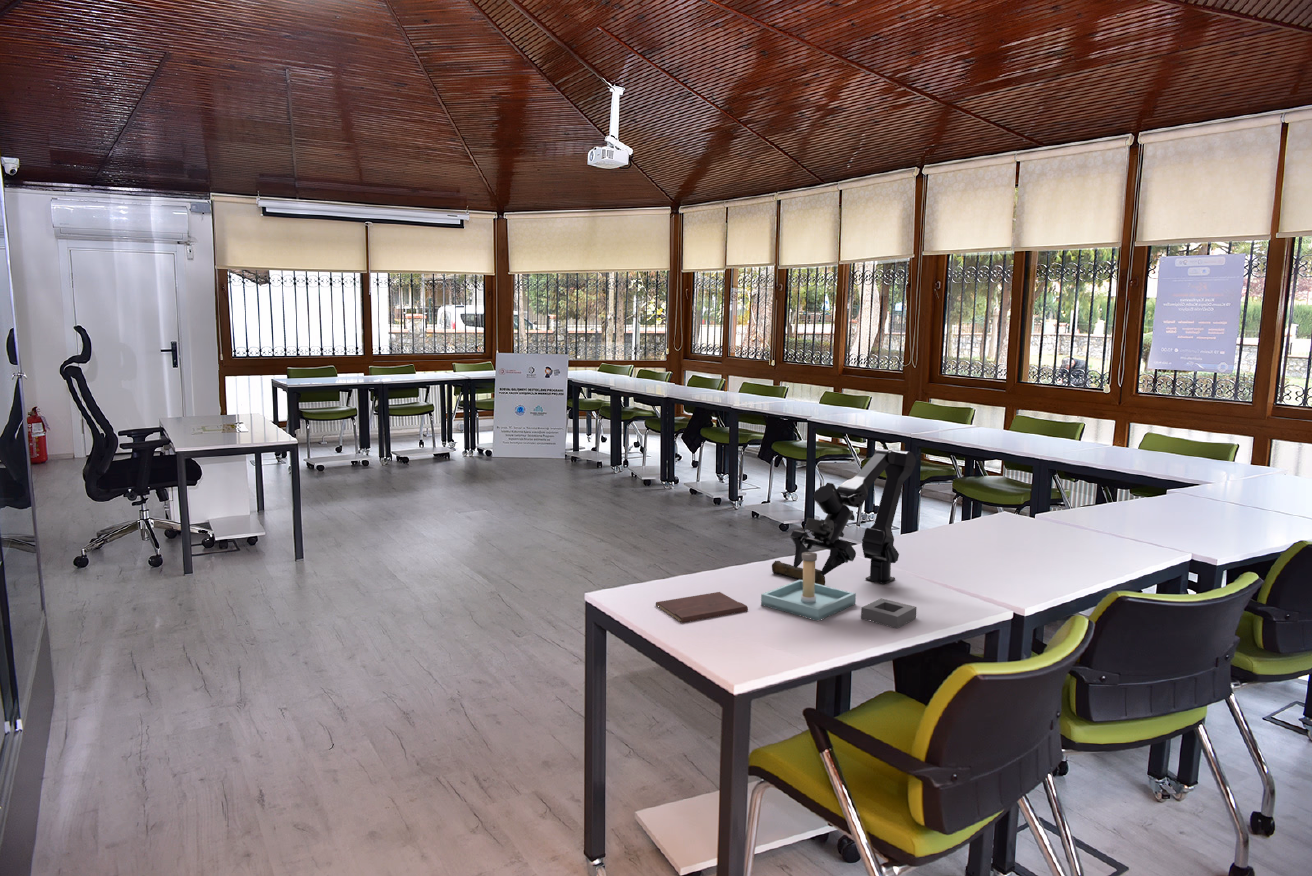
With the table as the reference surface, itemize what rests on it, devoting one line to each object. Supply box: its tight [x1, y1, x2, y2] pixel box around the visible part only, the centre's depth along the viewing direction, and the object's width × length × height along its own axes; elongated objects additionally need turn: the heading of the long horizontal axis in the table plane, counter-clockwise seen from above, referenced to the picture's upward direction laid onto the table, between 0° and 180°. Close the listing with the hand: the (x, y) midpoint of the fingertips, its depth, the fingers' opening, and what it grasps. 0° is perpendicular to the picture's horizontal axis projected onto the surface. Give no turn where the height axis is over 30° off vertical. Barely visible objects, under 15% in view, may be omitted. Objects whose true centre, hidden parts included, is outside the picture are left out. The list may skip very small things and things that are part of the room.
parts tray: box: [760, 579, 857, 621], centre depth 223 cm, size 18×18×3 cm
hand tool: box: [771, 560, 826, 586], centre depth 245 cm, size 19×4×5 cm, turn 38°
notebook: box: [655, 591, 749, 624], centre depth 221 cm, size 15×20×2 cm
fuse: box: [801, 551, 818, 603], centre depth 222 cm, size 4×4×13 cm
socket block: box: [860, 597, 918, 629], centre depth 212 cm, size 10×10×3 cm
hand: (808, 570), depth 222 cm, fingers open, 9 cm apart
